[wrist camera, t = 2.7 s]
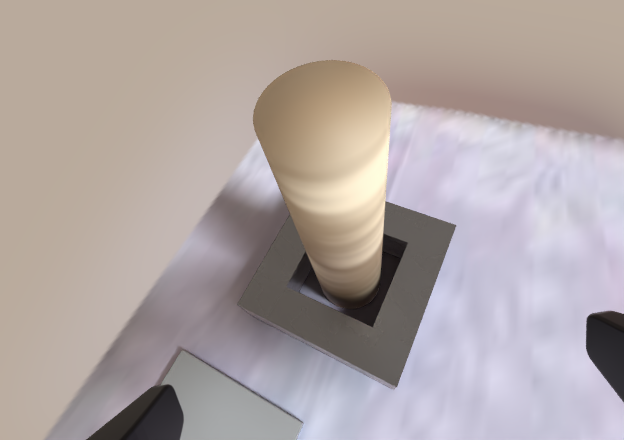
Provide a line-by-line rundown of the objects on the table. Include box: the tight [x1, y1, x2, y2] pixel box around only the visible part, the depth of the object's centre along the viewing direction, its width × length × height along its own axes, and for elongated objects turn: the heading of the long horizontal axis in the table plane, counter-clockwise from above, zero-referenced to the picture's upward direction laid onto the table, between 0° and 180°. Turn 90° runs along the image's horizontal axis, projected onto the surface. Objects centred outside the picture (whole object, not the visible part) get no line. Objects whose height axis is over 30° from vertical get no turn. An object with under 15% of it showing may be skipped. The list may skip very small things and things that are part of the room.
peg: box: [253, 60, 392, 309], centre depth 15 cm, size 4×4×14 cm
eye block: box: [237, 201, 456, 390], centre depth 20 cm, size 9×9×2 cm
